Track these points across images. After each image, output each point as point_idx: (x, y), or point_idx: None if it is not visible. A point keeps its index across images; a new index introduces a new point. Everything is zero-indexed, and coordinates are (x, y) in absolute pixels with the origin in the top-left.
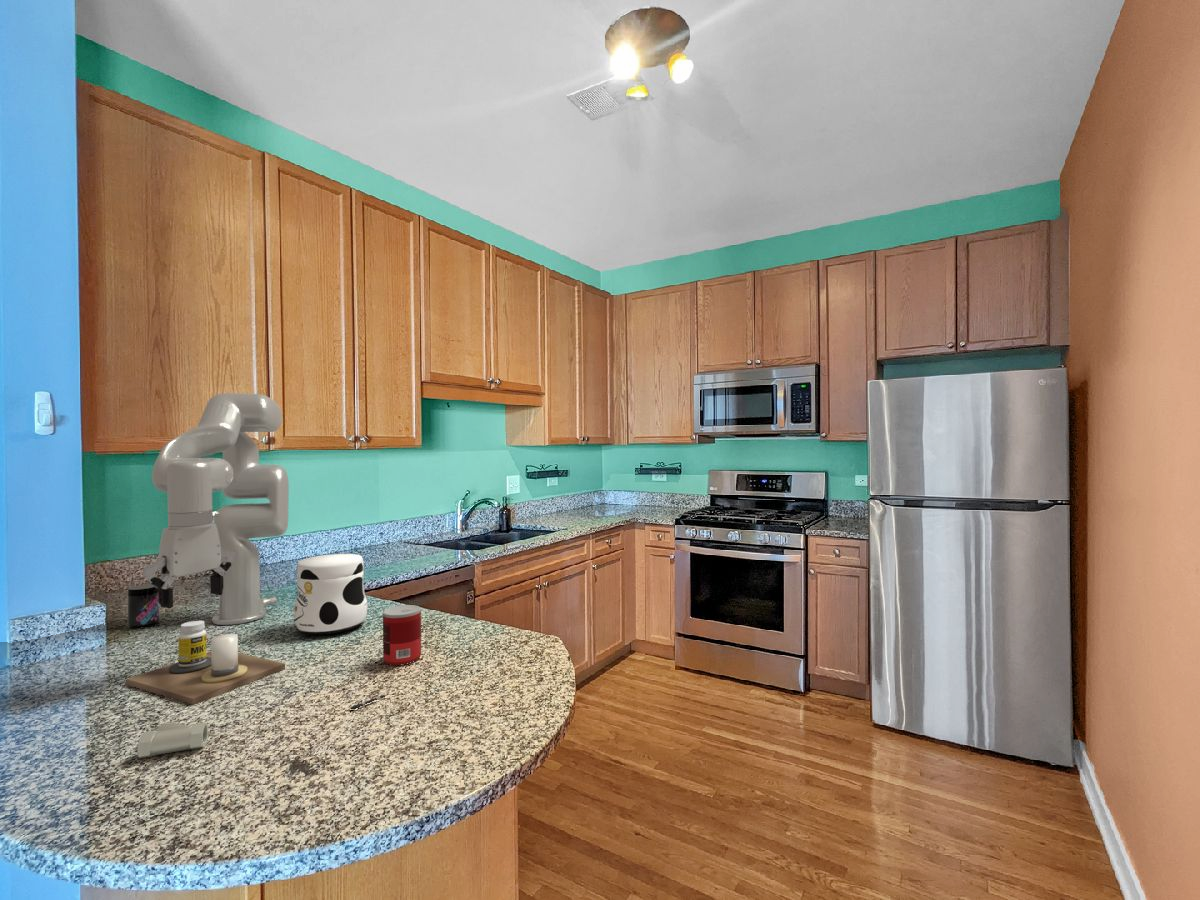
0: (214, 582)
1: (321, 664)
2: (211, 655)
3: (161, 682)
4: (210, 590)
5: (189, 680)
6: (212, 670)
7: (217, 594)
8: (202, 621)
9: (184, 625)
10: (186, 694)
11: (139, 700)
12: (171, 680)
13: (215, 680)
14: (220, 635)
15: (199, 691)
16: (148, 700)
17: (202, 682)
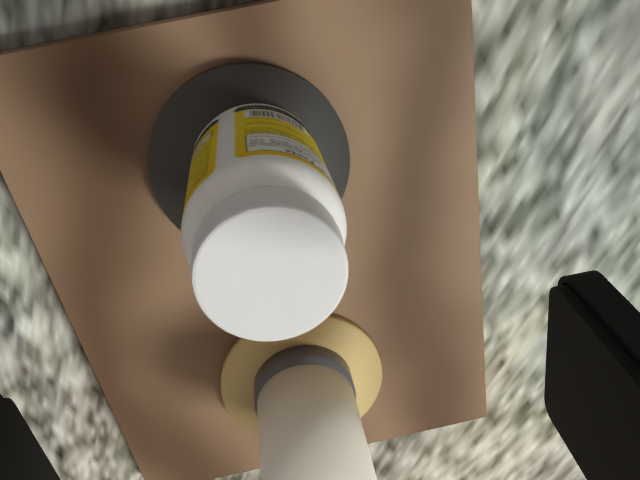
0: (630, 477)
1: (560, 441)
2: (260, 447)
3: (94, 267)
4: (568, 306)
5: (188, 332)
6: (255, 410)
7: (545, 394)
8: (336, 285)
9: (209, 291)
10: (143, 451)
11: (12, 313)
12: (133, 276)
13: (248, 429)
14: (325, 476)
15: (183, 456)
16: (41, 337)
17: (217, 386)
